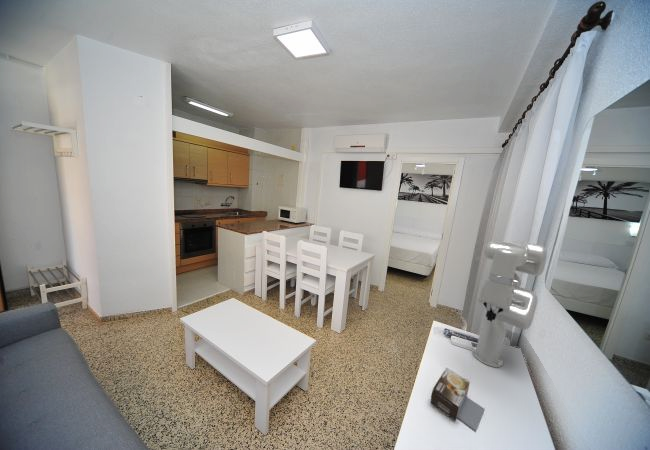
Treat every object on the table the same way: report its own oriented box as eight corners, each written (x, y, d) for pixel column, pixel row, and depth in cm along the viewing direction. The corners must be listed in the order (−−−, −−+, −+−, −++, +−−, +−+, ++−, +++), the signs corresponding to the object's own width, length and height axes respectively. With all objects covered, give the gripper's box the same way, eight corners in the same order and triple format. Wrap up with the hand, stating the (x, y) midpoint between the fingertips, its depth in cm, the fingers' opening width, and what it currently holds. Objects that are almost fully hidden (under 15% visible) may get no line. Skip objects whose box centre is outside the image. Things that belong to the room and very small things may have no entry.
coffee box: (443, 379, 96) (428, 402, 85) (446, 366, 95) (431, 388, 84) (467, 394, 90) (455, 421, 79) (471, 381, 89) (458, 406, 78)
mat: (447, 385, 94) (448, 384, 94) (484, 410, 85) (484, 408, 85) (436, 403, 86) (436, 401, 86) (475, 432, 77) (475, 430, 77)
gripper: (525, 283, 87) (514, 325, 91) (481, 270, 98) (472, 308, 101) (523, 288, 82) (511, 333, 86) (476, 274, 93) (467, 314, 96)
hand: (490, 319), depth 93 cm, fingers closed
